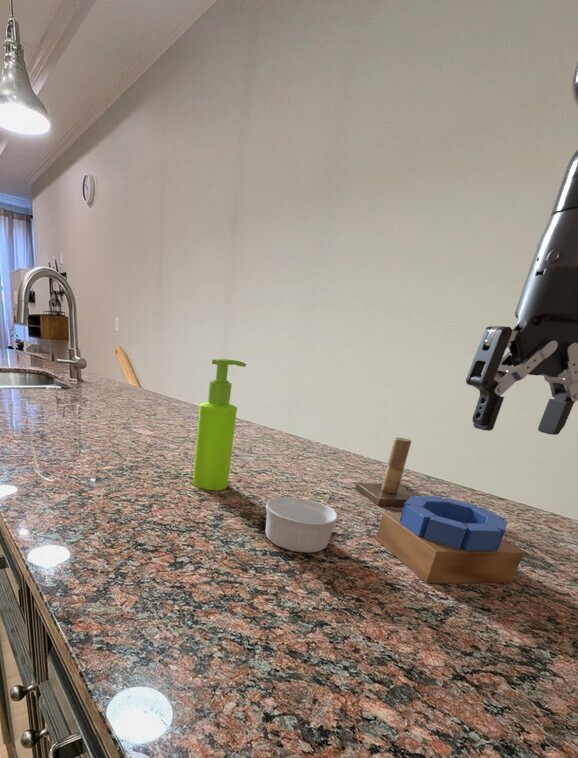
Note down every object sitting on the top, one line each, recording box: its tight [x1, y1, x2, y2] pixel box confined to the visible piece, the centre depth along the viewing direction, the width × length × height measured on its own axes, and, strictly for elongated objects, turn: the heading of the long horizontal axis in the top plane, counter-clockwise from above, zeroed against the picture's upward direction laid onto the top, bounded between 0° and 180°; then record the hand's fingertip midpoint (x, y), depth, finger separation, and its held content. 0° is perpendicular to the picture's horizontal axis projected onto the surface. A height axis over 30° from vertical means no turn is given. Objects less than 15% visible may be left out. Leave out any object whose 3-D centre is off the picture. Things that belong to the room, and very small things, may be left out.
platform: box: [375, 511, 525, 584], centre depth 55 cm, size 11×11×4 cm
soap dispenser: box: [192, 358, 247, 491], centre depth 72 cm, size 6×7×20 cm
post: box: [354, 437, 417, 507], centre depth 75 cm, size 8×8×10 cm
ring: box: [400, 495, 508, 551], centre depth 54 cm, size 11×11×2 cm
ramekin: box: [264, 496, 339, 554], centre depth 57 cm, size 9×9×4 cm
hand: (515, 431), depth 50 cm, fingers open, 8 cm apart
